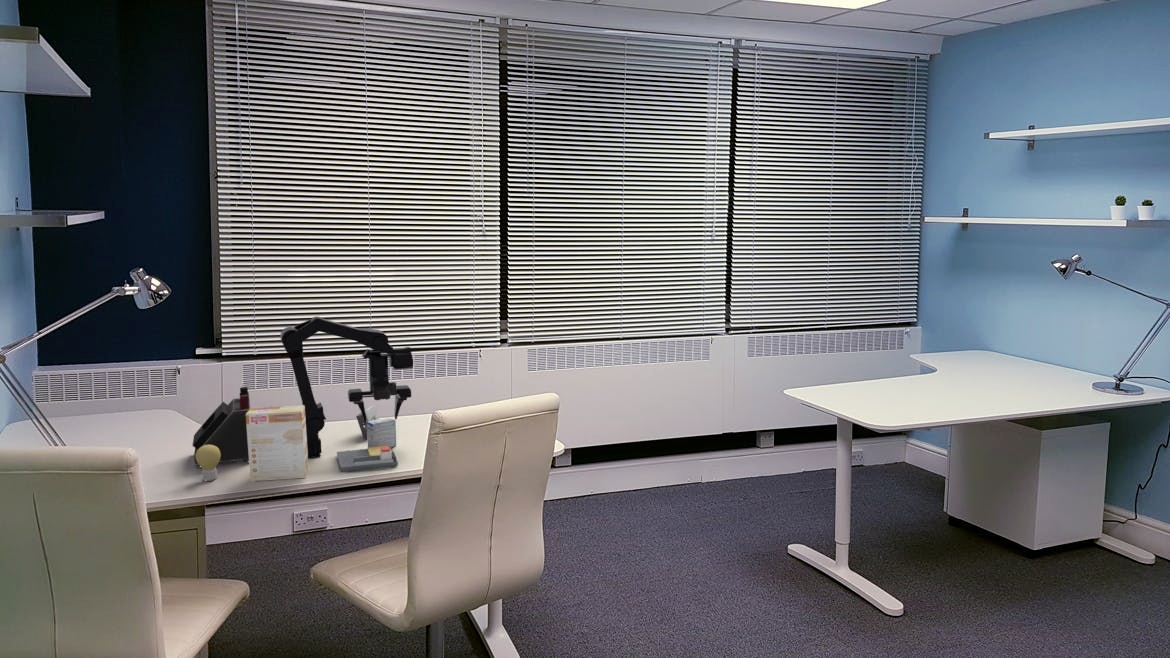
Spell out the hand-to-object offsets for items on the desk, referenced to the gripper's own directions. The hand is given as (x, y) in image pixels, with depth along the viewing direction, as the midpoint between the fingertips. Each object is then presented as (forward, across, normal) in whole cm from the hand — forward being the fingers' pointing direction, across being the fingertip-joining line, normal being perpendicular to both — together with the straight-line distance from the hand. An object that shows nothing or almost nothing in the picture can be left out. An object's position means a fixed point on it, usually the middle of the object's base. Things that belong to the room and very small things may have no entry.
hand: (380, 420), depth 282 cm
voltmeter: (+9, -46, +5) cm, 47 cm away
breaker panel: (+9, -6, -13) cm, 17 cm away
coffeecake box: (+9, -30, -18) cm, 37 cm away
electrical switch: (+9, -2, +15) cm, 18 cm away
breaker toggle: (+7, -1, -18) cm, 19 cm away
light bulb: (+9, -49, -15) cm, 52 cm away
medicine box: (+9, 0, 0) cm, 9 cm away
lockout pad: (+7, -2, -10) cm, 12 cm away
